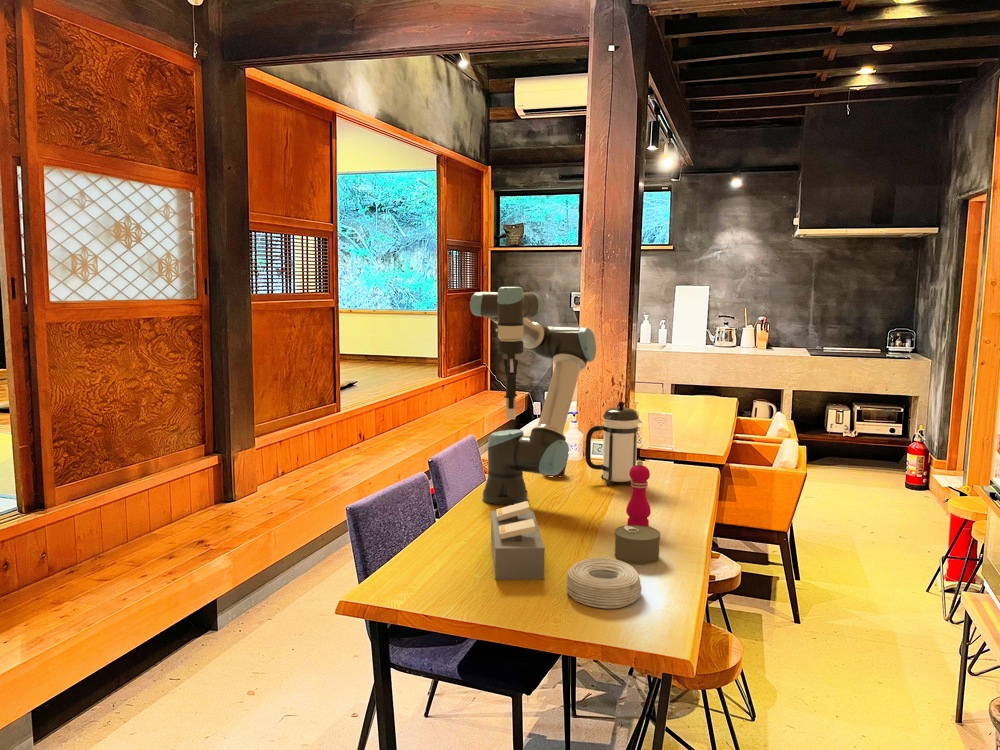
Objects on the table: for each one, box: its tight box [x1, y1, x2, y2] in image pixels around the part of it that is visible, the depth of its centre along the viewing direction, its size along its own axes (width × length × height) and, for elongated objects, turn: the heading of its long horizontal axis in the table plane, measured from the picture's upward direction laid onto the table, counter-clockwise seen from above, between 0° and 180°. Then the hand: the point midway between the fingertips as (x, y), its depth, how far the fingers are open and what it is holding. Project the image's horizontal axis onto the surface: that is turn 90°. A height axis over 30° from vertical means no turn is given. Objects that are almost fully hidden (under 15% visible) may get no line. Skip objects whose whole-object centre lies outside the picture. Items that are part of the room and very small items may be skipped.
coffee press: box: [585, 400, 643, 487], centre depth 270 cm, size 17×16×30 cm
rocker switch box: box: [490, 510, 546, 581], centre depth 200 cm, size 36×12×9 cm, turn 3°
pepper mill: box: [625, 460, 652, 527], centre depth 223 cm, size 7×7×20 cm
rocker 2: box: [499, 519, 536, 539], centre depth 189 cm, size 6×9×2 cm, turn 93°
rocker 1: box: [495, 500, 531, 521], centre depth 204 cm, size 6×9×2 cm, turn 93°
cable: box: [566, 557, 642, 609], centre depth 175 cm, size 18×18×6 cm
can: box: [614, 524, 661, 566], centre depth 198 cm, size 12×12×7 cm
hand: (510, 418), depth 221 cm, fingers closed
